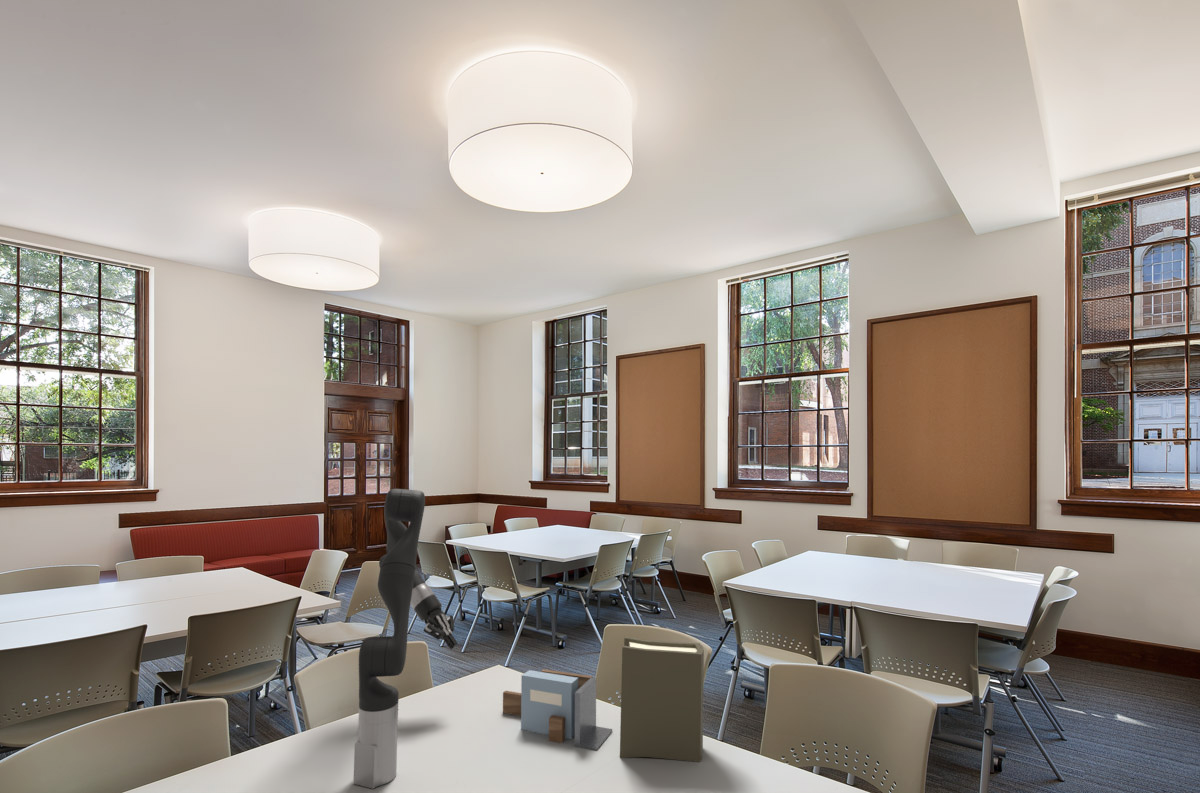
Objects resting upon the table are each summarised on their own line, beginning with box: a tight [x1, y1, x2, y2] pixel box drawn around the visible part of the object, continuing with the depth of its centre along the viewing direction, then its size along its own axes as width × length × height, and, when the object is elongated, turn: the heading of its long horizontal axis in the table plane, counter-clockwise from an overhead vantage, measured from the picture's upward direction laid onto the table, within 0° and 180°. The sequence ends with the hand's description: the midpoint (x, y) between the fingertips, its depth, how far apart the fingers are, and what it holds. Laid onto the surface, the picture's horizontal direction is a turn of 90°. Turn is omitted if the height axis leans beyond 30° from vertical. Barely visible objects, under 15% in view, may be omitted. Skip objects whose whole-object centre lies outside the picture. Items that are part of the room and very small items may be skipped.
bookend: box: [574, 677, 613, 751], centre depth 169 cm, size 12×6×14 cm, turn 159°
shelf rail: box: [502, 668, 594, 744], centre depth 177 cm, size 12×29×14 cm, turn 69°
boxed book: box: [520, 669, 578, 740], centre depth 174 cm, size 5×16×15 cm, turn 67°
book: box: [619, 636, 705, 763], centre depth 163 cm, size 22×9×28 cm, turn 84°
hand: (454, 646), depth 187 cm, fingers closed
